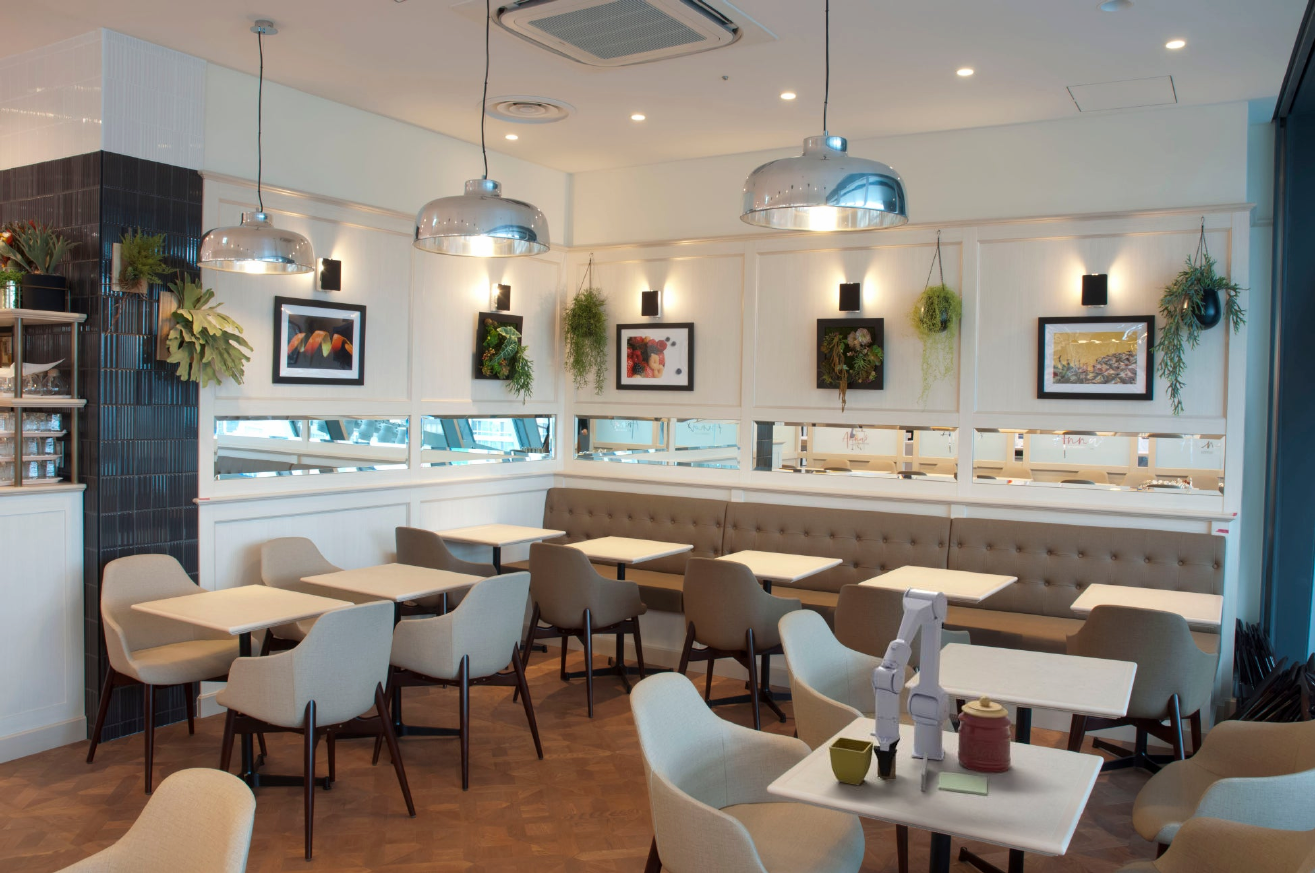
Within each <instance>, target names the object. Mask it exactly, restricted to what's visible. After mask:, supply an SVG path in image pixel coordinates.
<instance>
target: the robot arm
mask: <svg viewBox="0 0 1315 873" xmlns="http://www.w3.org/2000/svg"><path fill="white" fill-rule="evenodd" d="M902 609H903V612H904V613H903V617H902V620H901V623H900V626H899V629H898V632H897V635H896V639H894V640H892V641H890V642H889V645H888V646H887V650H886V652H885V654H884V657H883V659H882V661H881V664H880V665H879V666H878V667H875V668H874V669H873V672H872V676H871V678H870V683H871V686H872V688H873V689H872V690H873V696H874V697H875V717H874V718H875V725H874V726H875V727H874V729H875V730H871V731H870V734H869V735H870V736H872V737H875V739H876V740H877V741H878V744H879V745H874V744H873V750H872V751H873V752H874V754H875V757H876V759H877V765H878V764H879V770H880V774H881V776H886V777H889V776H890V773H891V768H892V762H893V759H894V756H895V755H896V756H897V752H898V749H897V746H898V744H899V742H901V741H900V740H901V734H900V693H901V692H902V690H903V689H904V686H905V680H906V679H905V678H906V675H907V674H906V671H905V670H906V668H907V665H908V663H909V661H910V658H911V655H912V652H913V650H912V648H911V644H912V642H913V640H914V638H915V636H916V634H917V633H918V631H919V628H920V626H921V637H920V638H921V639H920V656H919V675H918V676H919V677H918V683H917V684H915V685H914V686H912V687H911V688H910V690H909V695H908V699H907V702H906V707H907V708H906V709H907V712H908V714H909V716H911V720H913V721H914V724H913V726H914V727H913V729H914V730H913V745H912V751H911V757H912V758H917V759H918V758H919V759H920V758H921V759H924V753H928V759H929V760H935V761H936V760H937V761H943V760H944V756H945V747H943V726H944V723H946V721H948V719H949V718H950V713H951V704H950V697H949V696H950V695H949V692H948V691H946V690H945V689H944V688H943V687H942V685H941V684H940V665H941V664H940V663H941V649H942V648H941V645H942V644H941V643H942V624H943V623H945V622H947V615H948V614H947V613H948V599H947V597H946V596H945V594H944V592H942V591H932V590H924V589H918V588H917V589H916V588H914V587H908V588H907V589H906V591H904V594H903V597H902Z"/></svg>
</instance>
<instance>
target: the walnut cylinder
mask: <svg viewBox="0 0 1315 873" xmlns="http://www.w3.org/2000/svg"><path fill="white" fill-rule="evenodd" d="M896 766H897V754H896V755H895V756H894V759H893V762H892V768H891V773H890V776H889V777H886V776H881V774H880V770H879V764H878V763H877V767H876V768H877V771H876V772H877V775H878V776H877V777H878V778H879V777H880V778H879V779H881V778H883V779H882V780H886V779H892V780H895V779H896V778H895V777H897V776H896V775H897V774H896V772H897V770H896V768H897V767H896Z"/></svg>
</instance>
